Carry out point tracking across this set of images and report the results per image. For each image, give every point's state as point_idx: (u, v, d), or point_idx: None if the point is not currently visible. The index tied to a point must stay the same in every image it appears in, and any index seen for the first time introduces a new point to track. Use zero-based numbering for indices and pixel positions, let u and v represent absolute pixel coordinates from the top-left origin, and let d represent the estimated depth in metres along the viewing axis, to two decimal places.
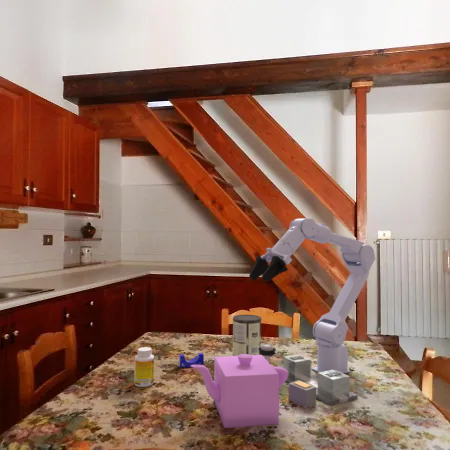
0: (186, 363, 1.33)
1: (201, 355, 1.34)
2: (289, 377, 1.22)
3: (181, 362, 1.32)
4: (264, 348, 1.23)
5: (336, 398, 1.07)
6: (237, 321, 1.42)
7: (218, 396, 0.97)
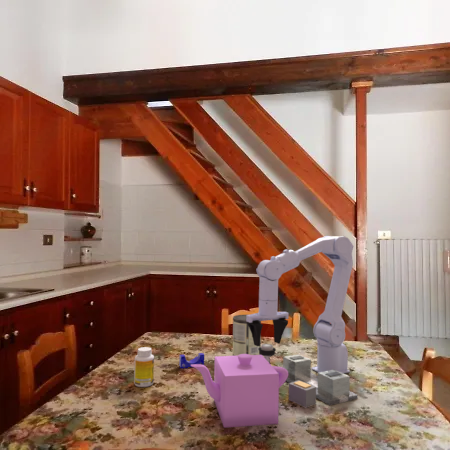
0: (187, 363, 1.32)
1: (202, 355, 1.34)
2: (289, 377, 1.22)
3: (182, 362, 1.32)
4: (264, 348, 1.23)
5: (336, 398, 1.07)
6: (237, 321, 1.42)
7: (217, 395, 0.97)
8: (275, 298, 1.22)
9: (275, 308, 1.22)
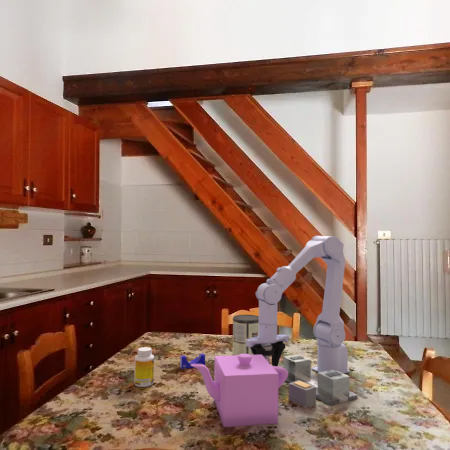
0: (188, 364, 1.32)
1: (203, 356, 1.34)
2: (289, 377, 1.22)
3: (183, 363, 1.31)
4: None
5: (336, 398, 1.07)
6: (237, 321, 1.42)
7: (217, 395, 0.98)
8: (275, 322, 1.22)
9: (275, 332, 1.22)
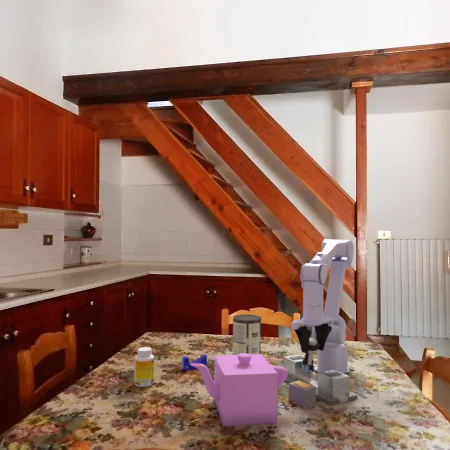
0: (190, 365, 1.31)
1: (204, 356, 1.33)
2: (289, 377, 1.22)
3: (185, 364, 1.30)
4: None
5: (336, 398, 1.07)
6: (237, 321, 1.42)
7: (217, 394, 0.98)
8: None
9: (321, 314, 1.16)
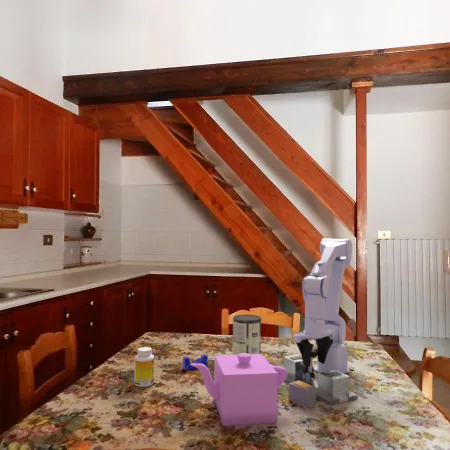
0: (191, 365, 1.31)
1: (205, 357, 1.33)
2: (289, 377, 1.22)
3: (186, 365, 1.30)
4: None
5: (336, 398, 1.07)
6: (237, 321, 1.42)
7: (217, 394, 0.98)
8: (324, 315, 1.18)
9: (323, 327, 1.16)
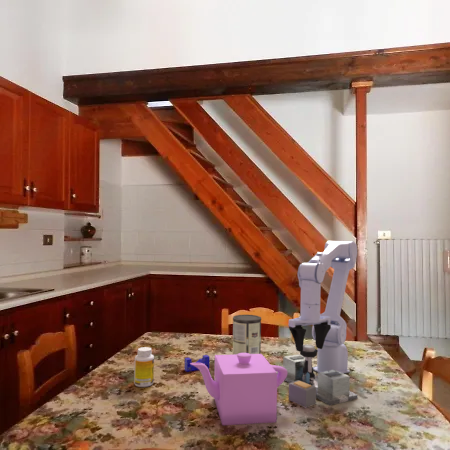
0: (193, 366, 1.30)
1: (207, 357, 1.32)
2: (289, 377, 1.22)
3: (188, 366, 1.29)
4: (306, 349, 1.19)
5: (336, 398, 1.07)
6: (237, 321, 1.42)
7: (217, 394, 0.98)
8: None
9: (318, 312, 1.18)
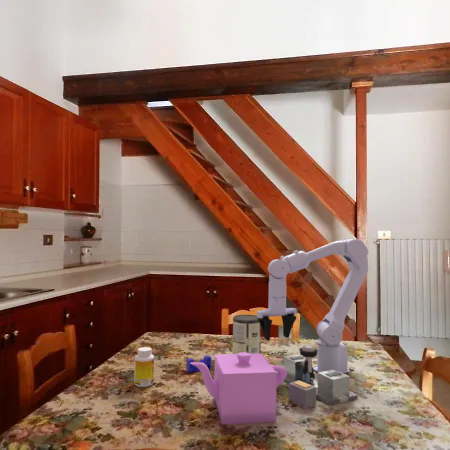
0: (195, 367, 1.29)
1: (209, 358, 1.32)
2: (289, 377, 1.22)
3: (190, 367, 1.28)
4: (306, 349, 1.19)
5: (336, 398, 1.07)
6: (237, 321, 1.42)
7: (216, 393, 0.99)
8: (281, 295, 1.29)
9: (284, 304, 1.30)
